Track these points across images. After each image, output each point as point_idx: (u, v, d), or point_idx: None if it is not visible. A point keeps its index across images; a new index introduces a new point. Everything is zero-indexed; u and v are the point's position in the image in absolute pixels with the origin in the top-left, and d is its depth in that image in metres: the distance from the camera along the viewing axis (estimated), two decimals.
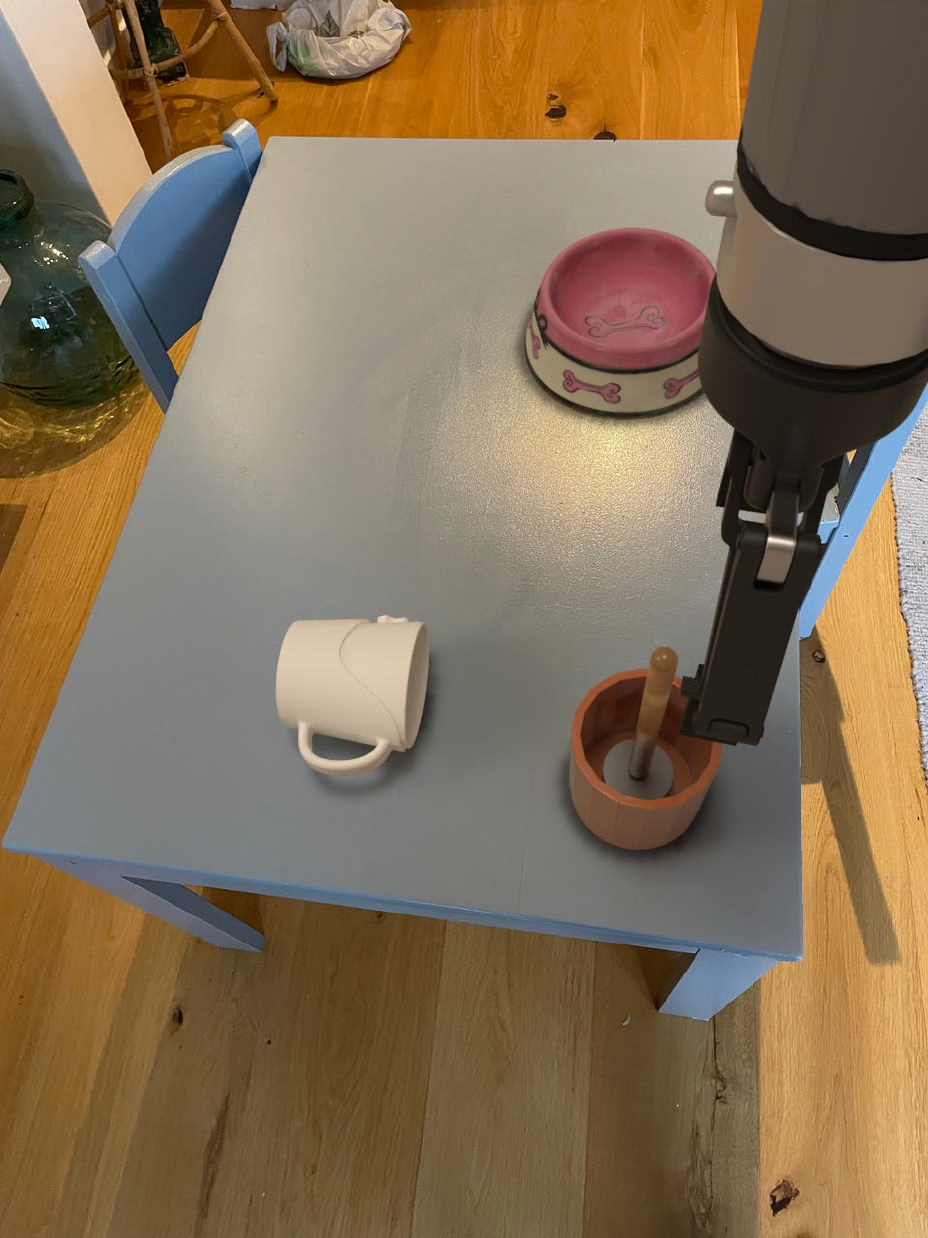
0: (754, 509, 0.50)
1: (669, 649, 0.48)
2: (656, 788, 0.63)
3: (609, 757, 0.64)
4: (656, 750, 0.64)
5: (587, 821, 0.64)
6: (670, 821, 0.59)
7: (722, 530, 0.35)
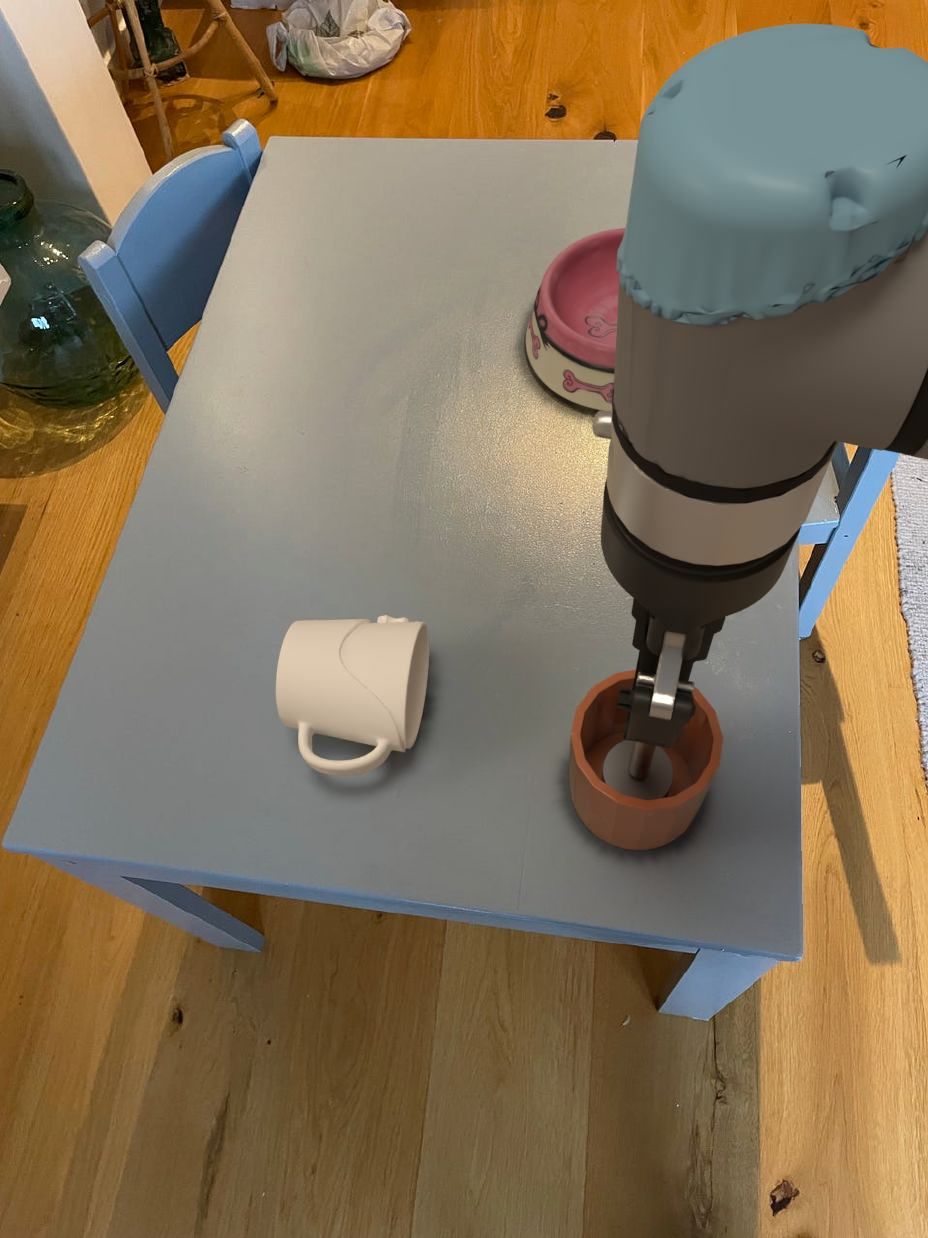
0: None
1: None
2: (656, 788, 0.63)
3: (609, 757, 0.64)
4: (656, 750, 0.64)
5: (587, 821, 0.64)
6: (670, 821, 0.59)
7: (633, 643, 0.43)
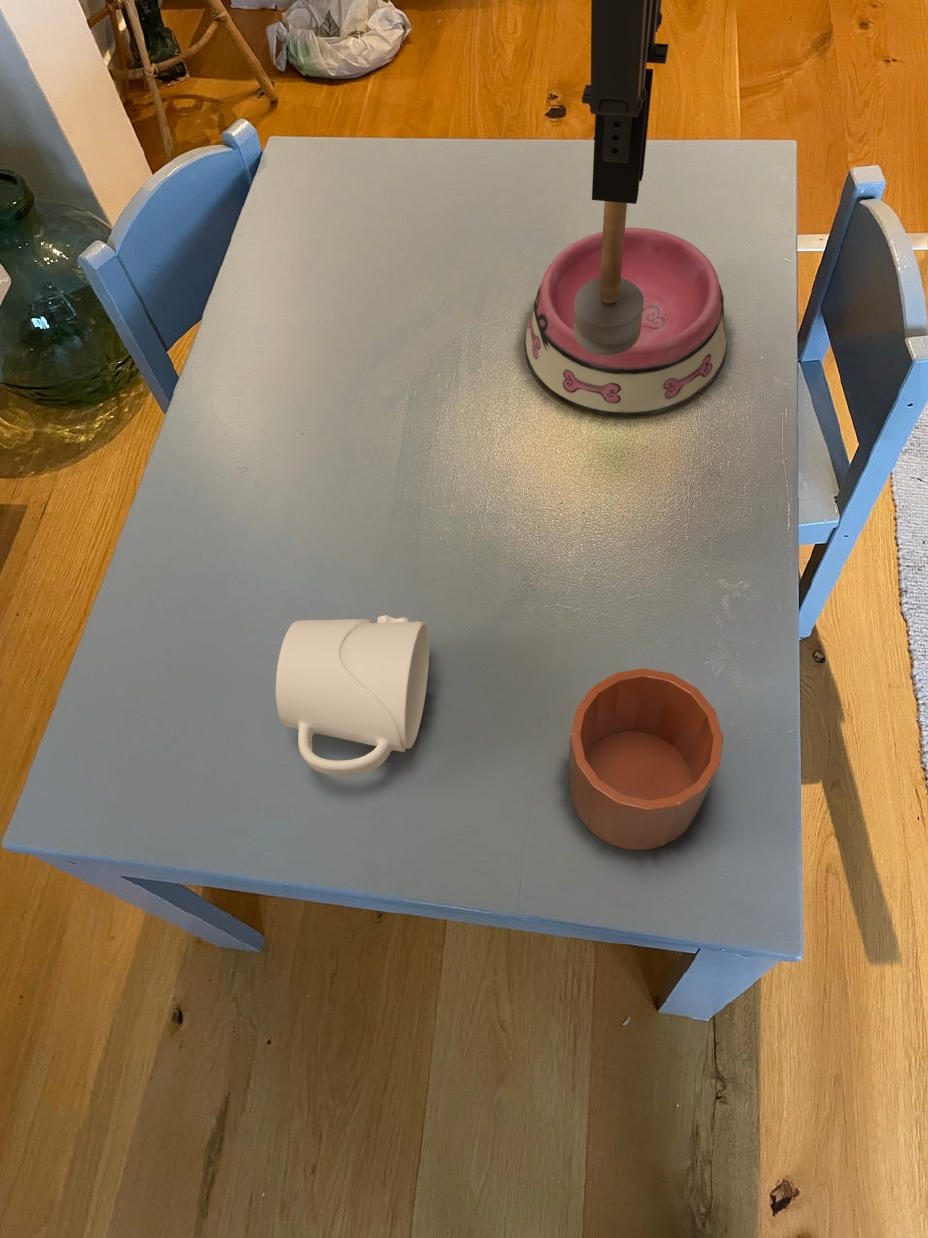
0: None
1: None
2: (626, 312, 0.64)
3: (581, 291, 0.66)
4: (627, 284, 0.65)
5: (587, 821, 0.64)
6: (670, 821, 0.59)
7: None
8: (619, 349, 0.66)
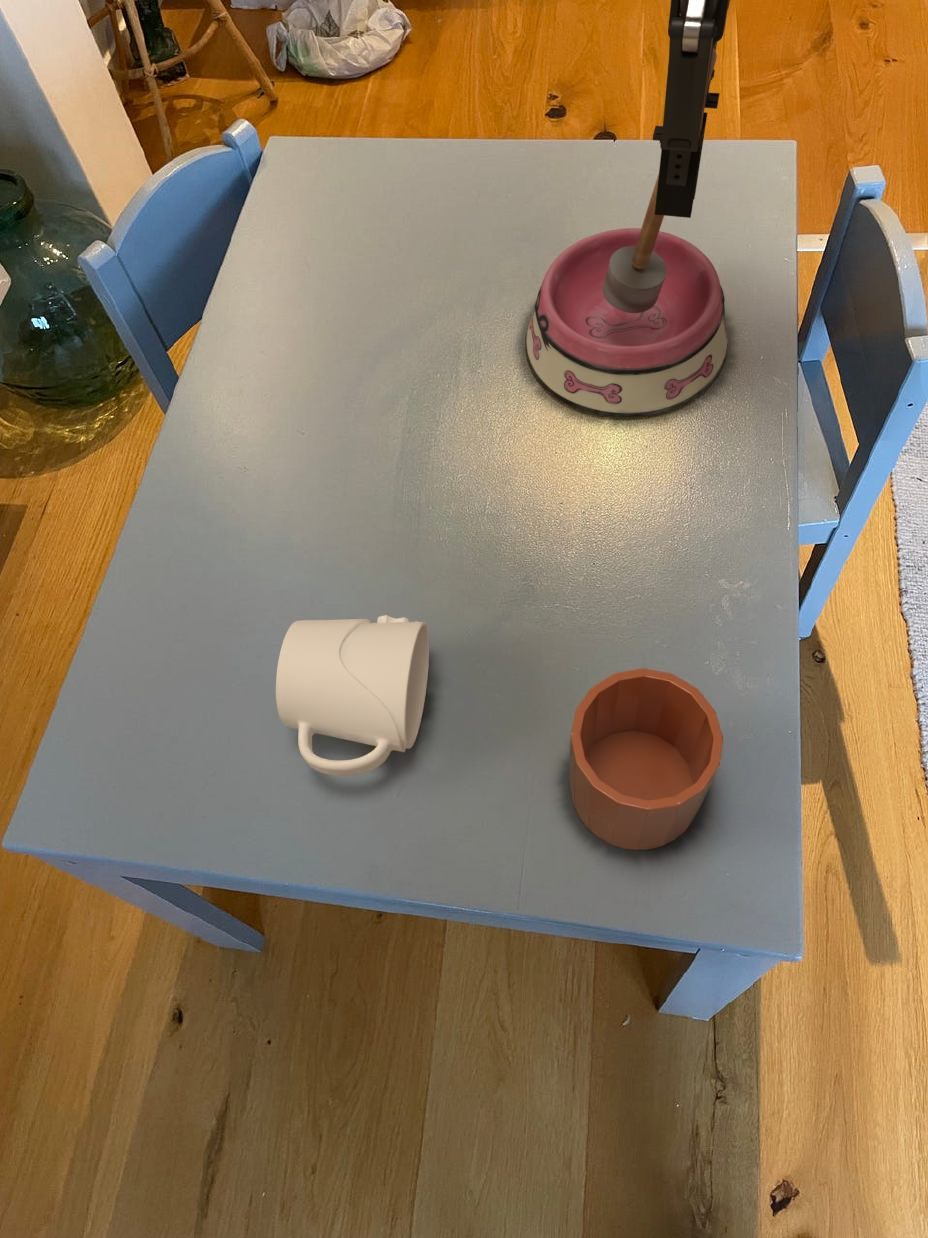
0: None
1: None
2: (652, 278, 0.76)
3: (615, 255, 0.77)
4: (653, 254, 0.78)
5: (587, 821, 0.64)
6: (670, 821, 0.59)
7: (668, 30, 0.58)
8: (641, 309, 0.78)
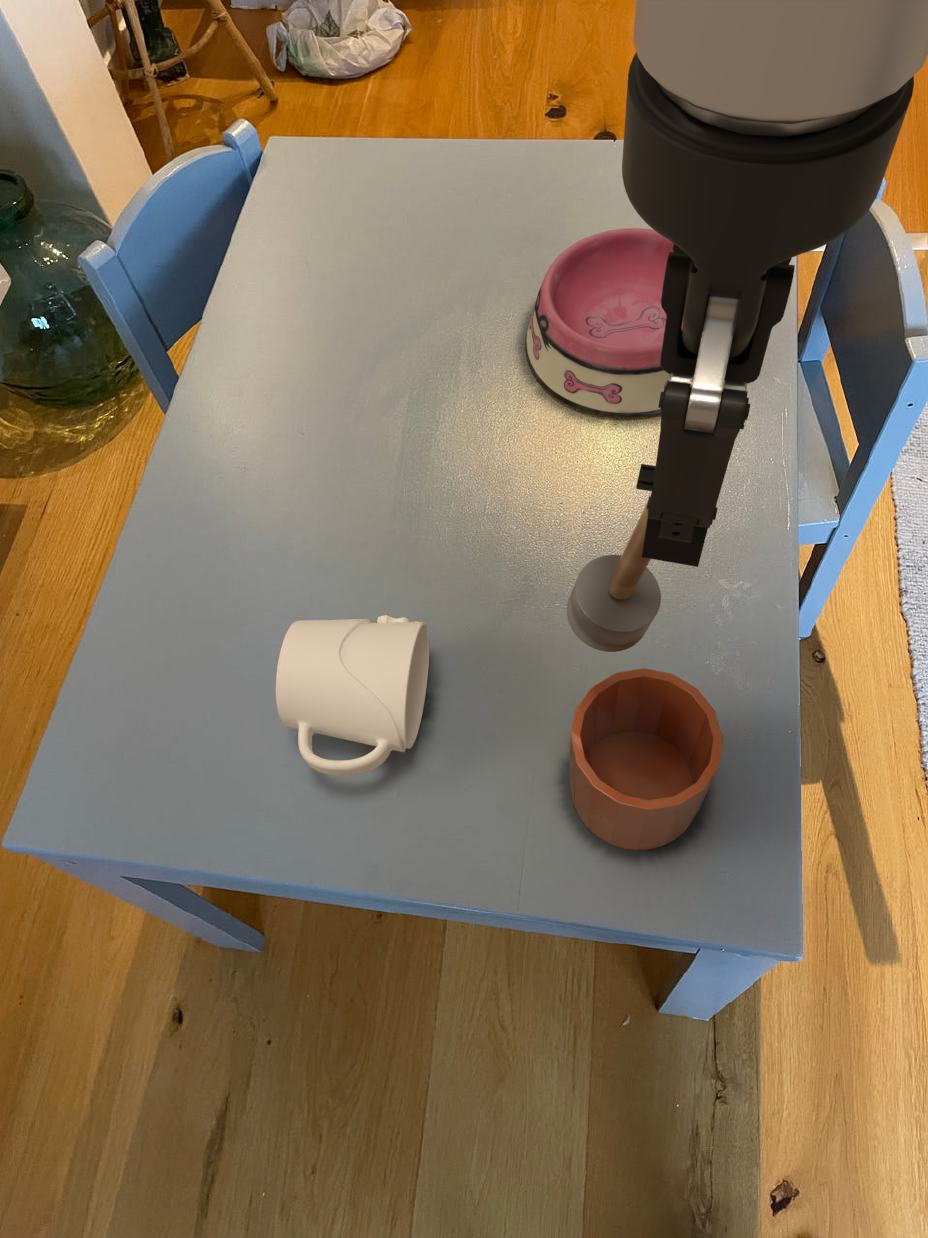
0: None
1: None
2: (639, 613, 0.51)
3: (584, 573, 0.52)
4: None
5: (587, 821, 0.64)
6: (670, 821, 0.59)
7: (661, 361, 0.33)
8: (623, 648, 0.53)
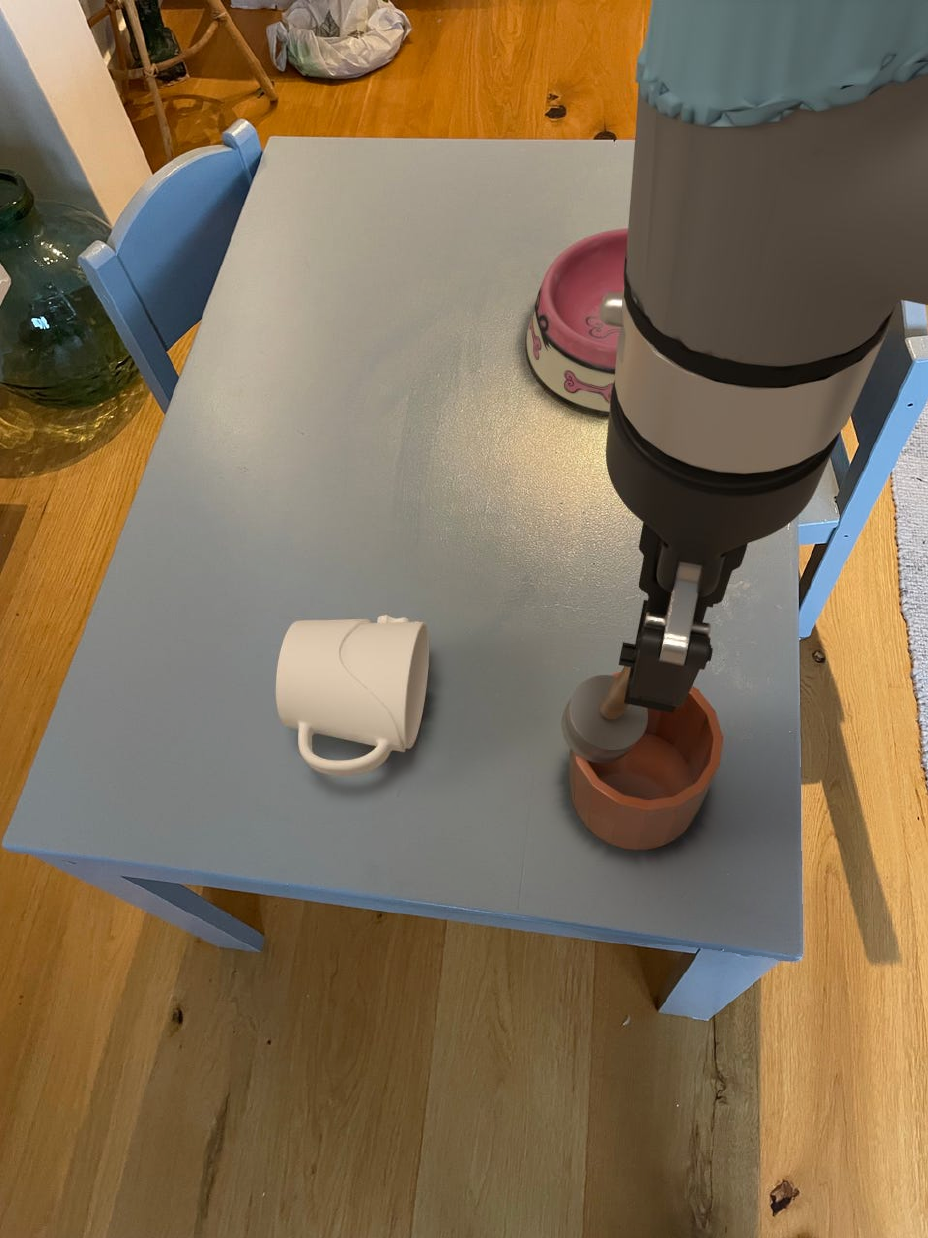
0: None
1: None
2: (628, 731, 0.55)
3: (577, 693, 0.56)
4: None
5: (587, 821, 0.64)
6: (670, 821, 0.59)
7: (639, 584, 0.38)
8: (613, 760, 0.57)
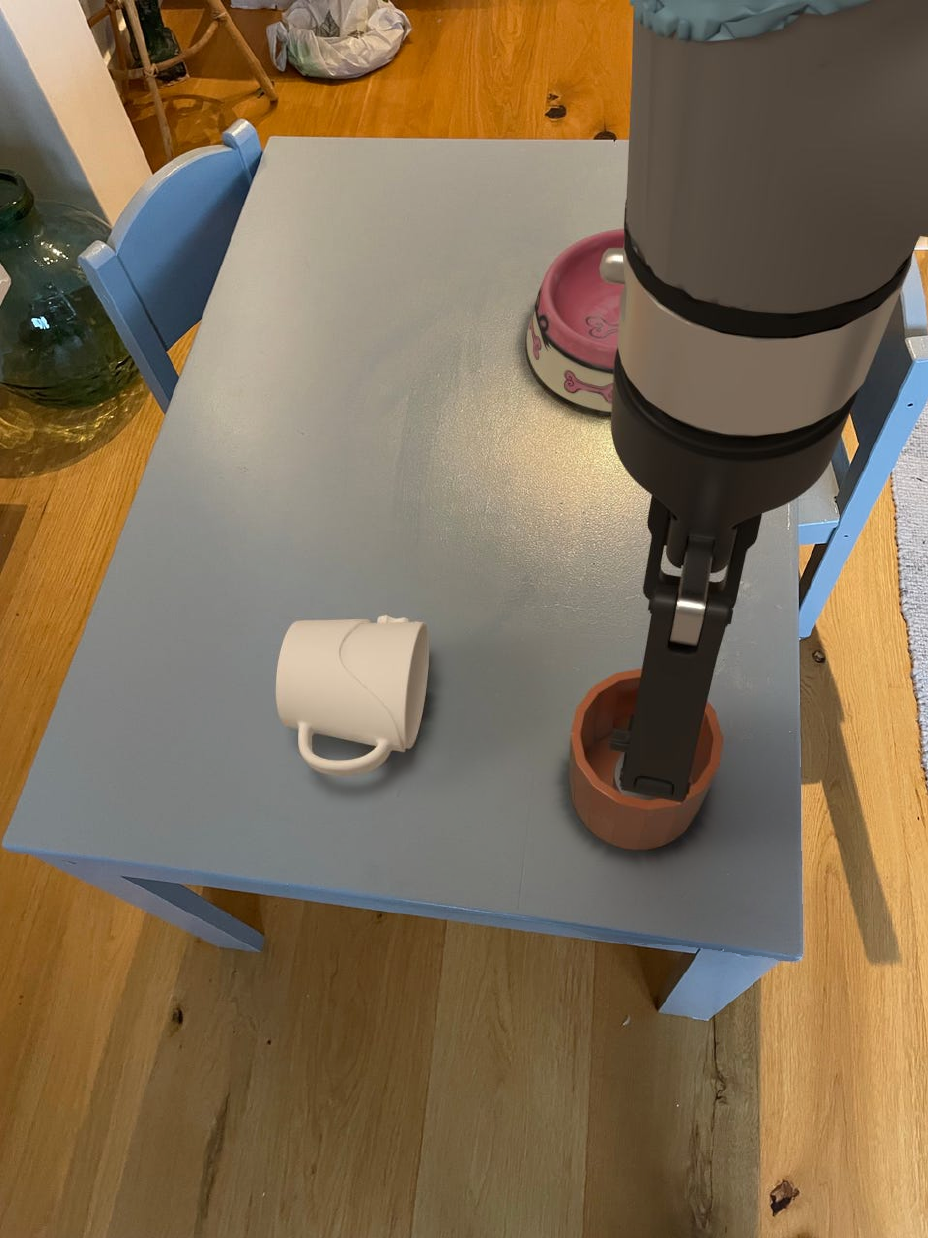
0: None
1: None
2: None
3: (617, 775, 0.64)
4: None
5: (587, 821, 0.64)
6: (670, 821, 0.59)
7: (644, 586, 0.35)
8: None
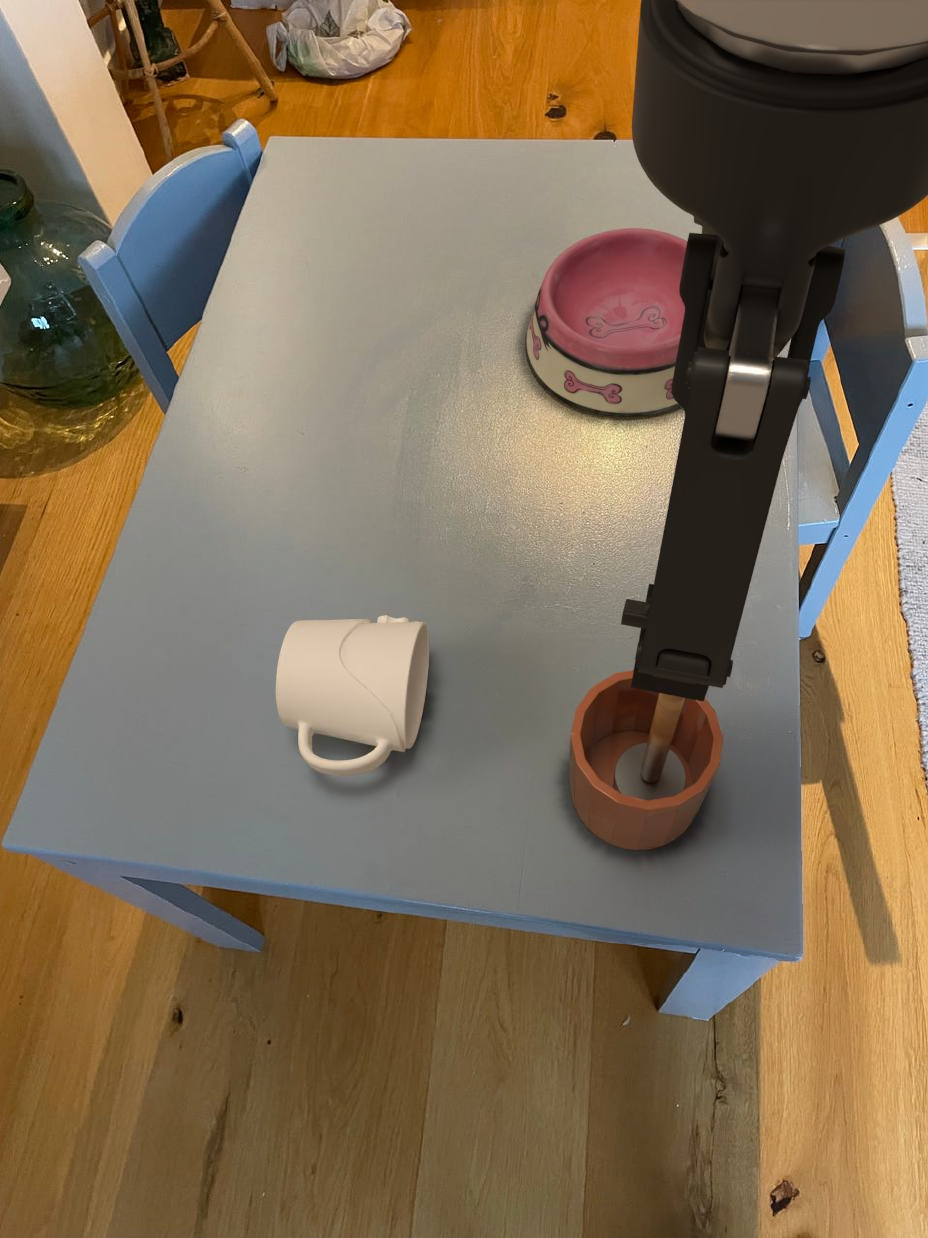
0: None
1: None
2: (674, 782, 0.63)
3: (618, 776, 0.64)
4: None
5: (587, 821, 0.64)
6: (670, 821, 0.59)
7: (673, 384, 0.25)
8: None
